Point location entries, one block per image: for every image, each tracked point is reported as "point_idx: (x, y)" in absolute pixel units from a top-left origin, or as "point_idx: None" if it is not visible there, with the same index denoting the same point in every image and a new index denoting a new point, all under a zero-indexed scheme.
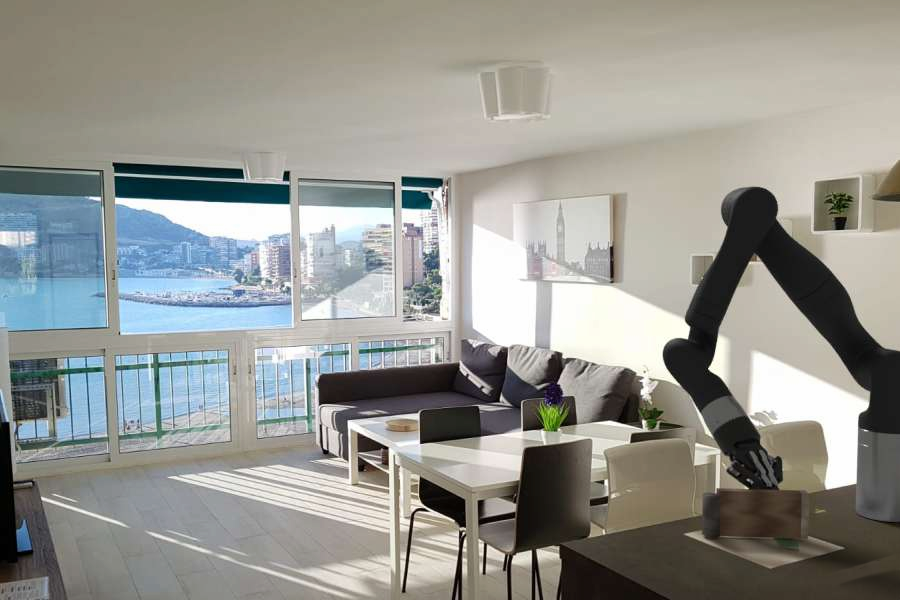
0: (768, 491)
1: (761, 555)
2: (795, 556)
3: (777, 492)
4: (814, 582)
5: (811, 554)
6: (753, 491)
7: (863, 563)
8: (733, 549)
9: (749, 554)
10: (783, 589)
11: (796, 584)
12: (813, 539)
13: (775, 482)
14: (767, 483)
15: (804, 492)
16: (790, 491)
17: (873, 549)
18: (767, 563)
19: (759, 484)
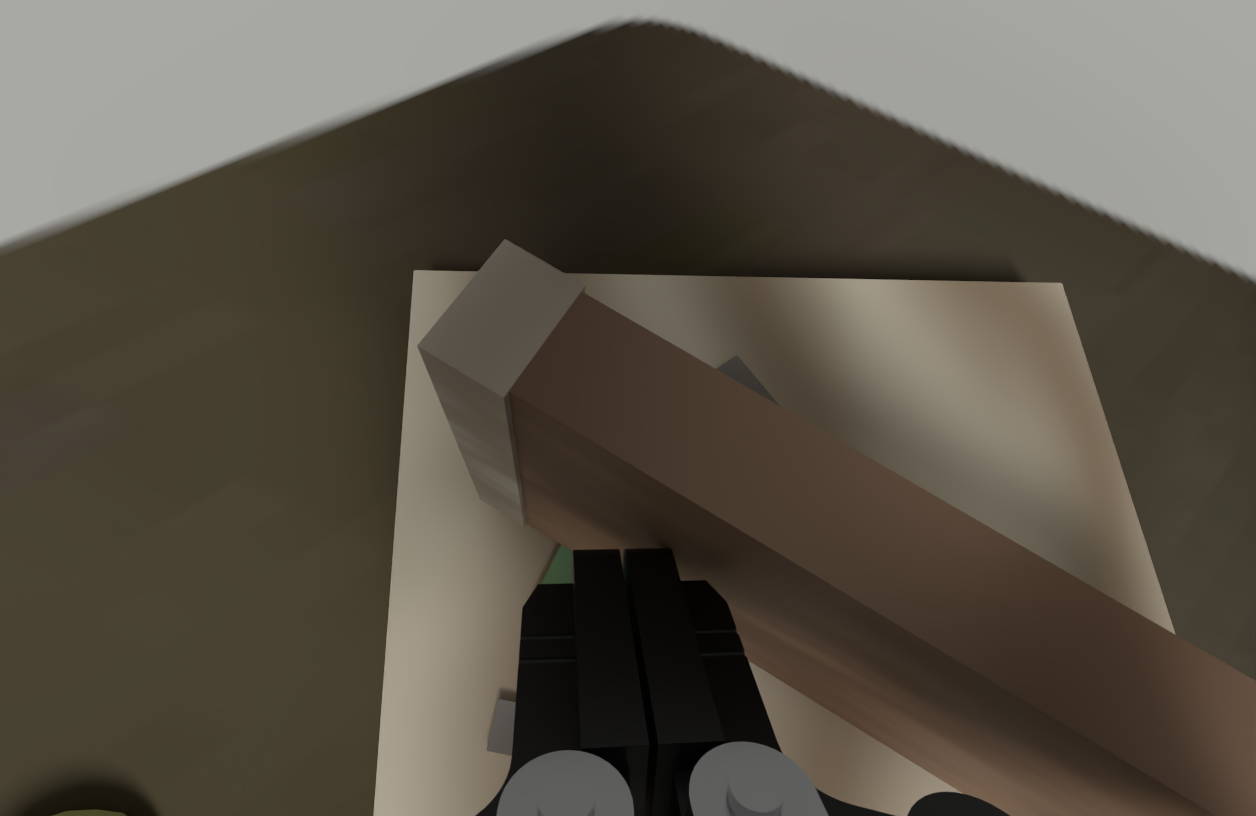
0: (966, 551)
1: (991, 419)
2: (814, 321)
3: (872, 460)
4: (866, 191)
5: (701, 299)
6: (1184, 652)
7: (425, 206)
8: (1096, 571)
9: (1050, 462)
10: (1048, 211)
11: (958, 214)
12: (436, 459)
13: (590, 787)
14: (793, 800)
15: (520, 290)
16: (663, 404)
17: (122, 291)
18: (1032, 330)
19: (985, 813)
